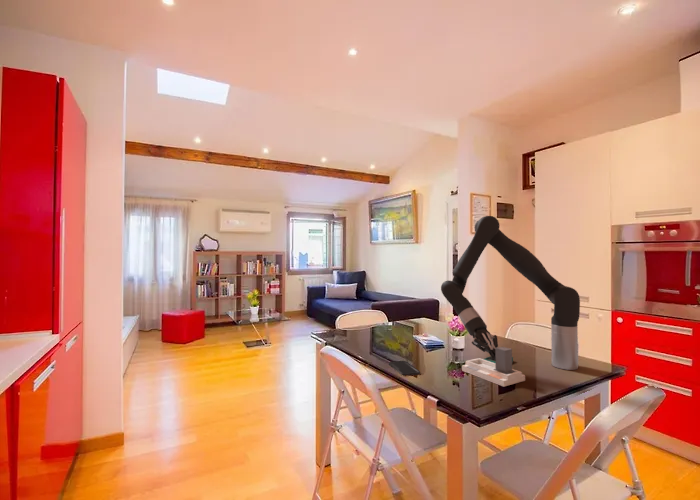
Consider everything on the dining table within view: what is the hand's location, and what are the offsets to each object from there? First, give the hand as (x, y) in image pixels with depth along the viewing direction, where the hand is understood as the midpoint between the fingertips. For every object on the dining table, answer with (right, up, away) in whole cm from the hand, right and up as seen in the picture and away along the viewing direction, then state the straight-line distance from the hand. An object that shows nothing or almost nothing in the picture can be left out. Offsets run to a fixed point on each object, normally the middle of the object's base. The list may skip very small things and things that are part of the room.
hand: (497, 359), depth 129 cm
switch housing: (-1, -7, +2) cm, 7 cm away
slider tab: (+1, -4, -2) cm, 5 cm away
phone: (-34, -7, +10) cm, 36 cm away
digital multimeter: (+7, -7, +17) cm, 20 cm away
